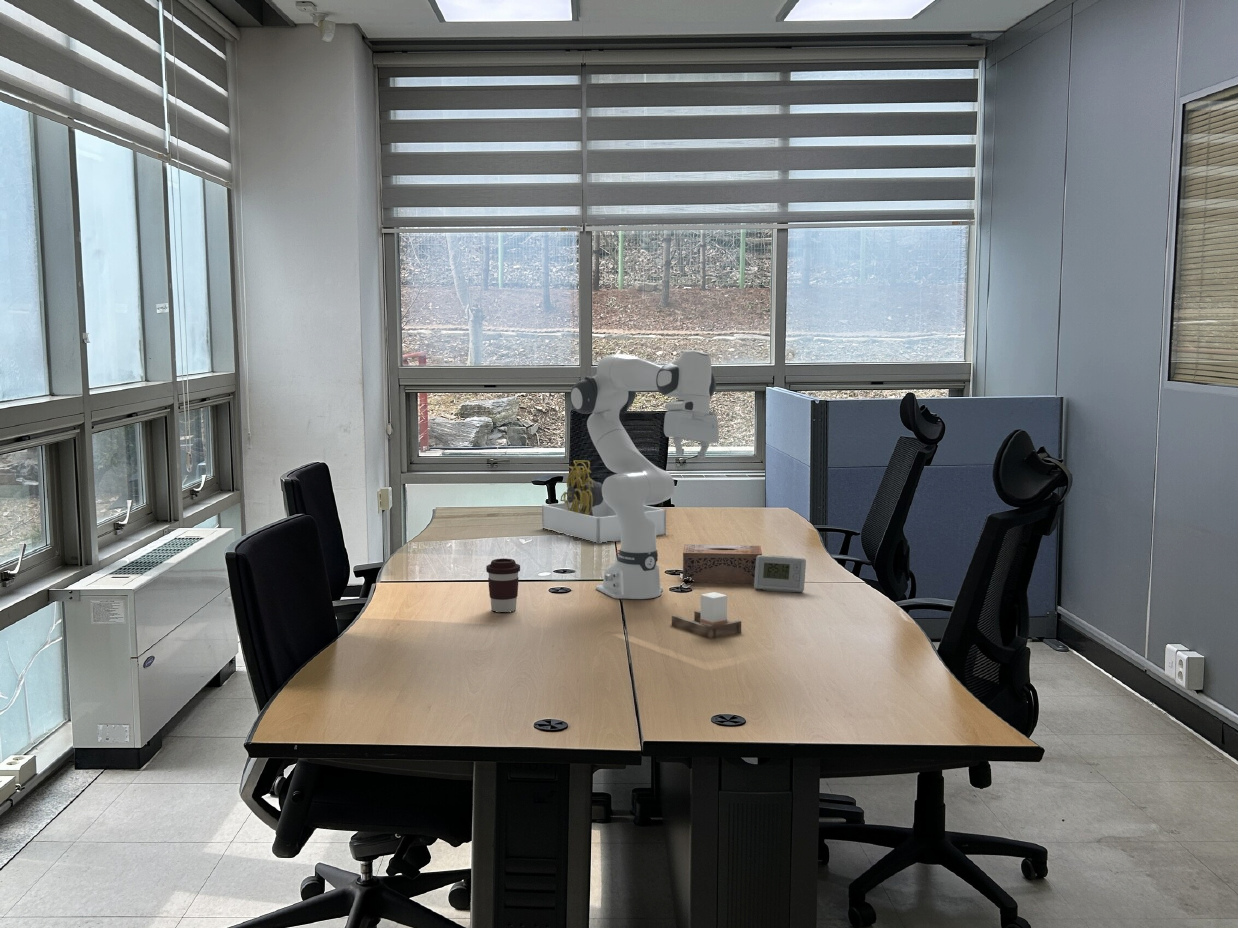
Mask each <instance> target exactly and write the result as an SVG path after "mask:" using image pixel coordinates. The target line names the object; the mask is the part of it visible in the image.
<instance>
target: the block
mask: <svg viewBox="0 0 1238 928" xmlns="http://www.w3.org/2000/svg"><path fill="white" fill-rule="evenodd" d="M700 612H701V618H700V623H701V624H704V625H707V626H714V625H719V624H723V623H727V620H728V595H726V594H723V593H719V592H715V591H714V592H713V591H712V592H709V593H703V594H700Z"/></svg>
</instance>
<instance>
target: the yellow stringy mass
mask: <svg viewBox="0 0 1238 928" xmlns="http://www.w3.org/2000/svg"><path fill="white" fill-rule="evenodd" d="M572 463H573V464H574V466H570V465H569V466H566V468H567V469H570V472H569V473H568V475H567V477H566V478H567V479H566V491H564V492H563V493H562V495H561V496H560V502H563V503H567V507H568V511H572V512H577V513H581V514H585V515H589V516H593V513H592V507H594V506H596V505H600V504H601V503H602V501H603V496H602V485H603V483H601V482H600V481H595V480H593V479H592V478H591V477H590V474H591V473H592V471H591V470H590V468H591V465H590V464H591V462H590V460H587V459H586V460H585V459H584V460H583V459H582V460H581V459H580V460H577V459H576V460H573V462H572ZM585 463H587V464H588V466H587V465H586V464H585ZM578 464H582V465H578ZM581 468H582V469H581ZM586 475H587V478H586ZM581 478H582V479H581ZM575 485H576V488H575ZM568 502H569V503H572V506H571V508H569V504H568ZM574 502H575V504H574ZM579 504H580V508H579ZM581 506H582V509H581ZM572 509H573V510H572Z"/></svg>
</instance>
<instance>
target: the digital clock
mask: <svg viewBox="0 0 1238 928" xmlns="http://www.w3.org/2000/svg"><path fill="white" fill-rule="evenodd" d="M806 565H807V559H806V558H803V557H795V556H783V555H763V554H762V555H758V556H757V557H756V566H755V579H754V583H753V588H754V589H756V590H761V589H762V590H764V591H766V592H767V591H769V592H780V593H781V592H782V593H803V592H804V590H805V580H806V568H807V567H806Z"/></svg>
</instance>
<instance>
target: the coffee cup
mask: <svg viewBox="0 0 1238 928" xmlns="http://www.w3.org/2000/svg"><path fill="white" fill-rule="evenodd" d="M485 568H486V569H485V570H486V573H488V579H487V580H488V583H487V584H488V592H489V599H490V609H491V611H492V610H493V611H497V612H510V611H513V612H515V611H516V610H517V601H518V595H519V572H521V565H520V564H519V563H516V560H515V559H512V558H507V557H506V558H505V557H504V558H503V557H502V558H495V559H492V560H491V562H490V564H487V565H486V567H485ZM514 610H515V611H514ZM493 611H492V612H493ZM510 613H511V612H510Z"/></svg>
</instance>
